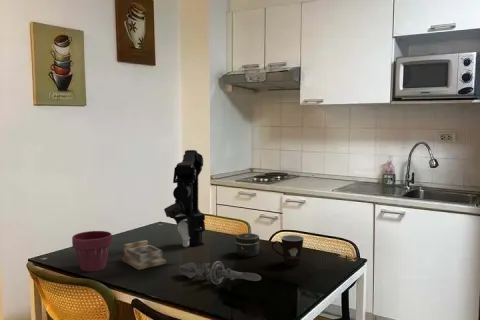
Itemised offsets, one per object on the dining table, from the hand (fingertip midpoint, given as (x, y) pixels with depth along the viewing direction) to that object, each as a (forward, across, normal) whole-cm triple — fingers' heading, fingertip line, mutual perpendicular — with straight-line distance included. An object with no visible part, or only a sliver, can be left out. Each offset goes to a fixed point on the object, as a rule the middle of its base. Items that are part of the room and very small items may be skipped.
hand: (185, 235), depth 180 cm
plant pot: (+11, -17, -31) cm, 37 cm away
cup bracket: (+11, -10, -13) cm, 20 cm away
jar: (+11, +8, +25) cm, 29 cm away
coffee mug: (+11, +27, +30) cm, 42 cm away
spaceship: (+11, +27, -5) cm, 30 cm away
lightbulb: (+5, 0, 0) cm, 5 cm away
